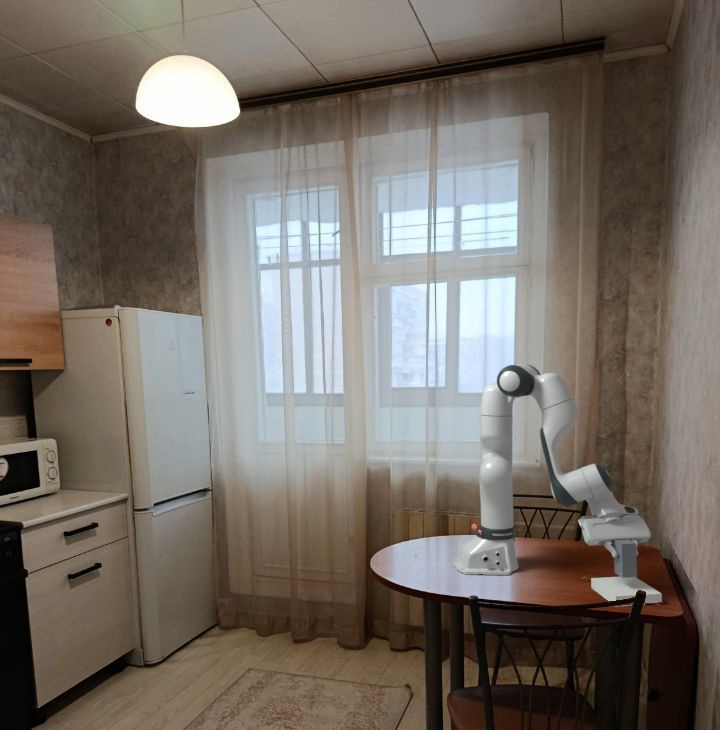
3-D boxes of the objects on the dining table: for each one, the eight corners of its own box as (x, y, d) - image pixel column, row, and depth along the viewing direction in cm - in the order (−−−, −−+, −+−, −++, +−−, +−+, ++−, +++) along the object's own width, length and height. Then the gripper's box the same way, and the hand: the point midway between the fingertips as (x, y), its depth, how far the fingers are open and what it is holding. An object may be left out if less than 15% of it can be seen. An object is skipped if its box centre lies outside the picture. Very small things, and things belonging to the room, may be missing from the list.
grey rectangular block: (622, 577, 165) (621, 544, 165) (614, 572, 169) (613, 539, 169) (637, 577, 165) (636, 543, 165) (628, 571, 170) (627, 538, 170)
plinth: (616, 606, 160) (615, 596, 160) (591, 587, 174) (591, 578, 174) (661, 604, 161) (661, 593, 161) (633, 585, 175) (633, 575, 175)
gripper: (579, 511, 173) (596, 552, 163) (641, 508, 175) (662, 548, 165) (573, 521, 178) (589, 562, 168) (633, 518, 180) (653, 558, 170)
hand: (626, 555), depth 167 cm, fingers closed on grey rectangular block, 4 cm apart
